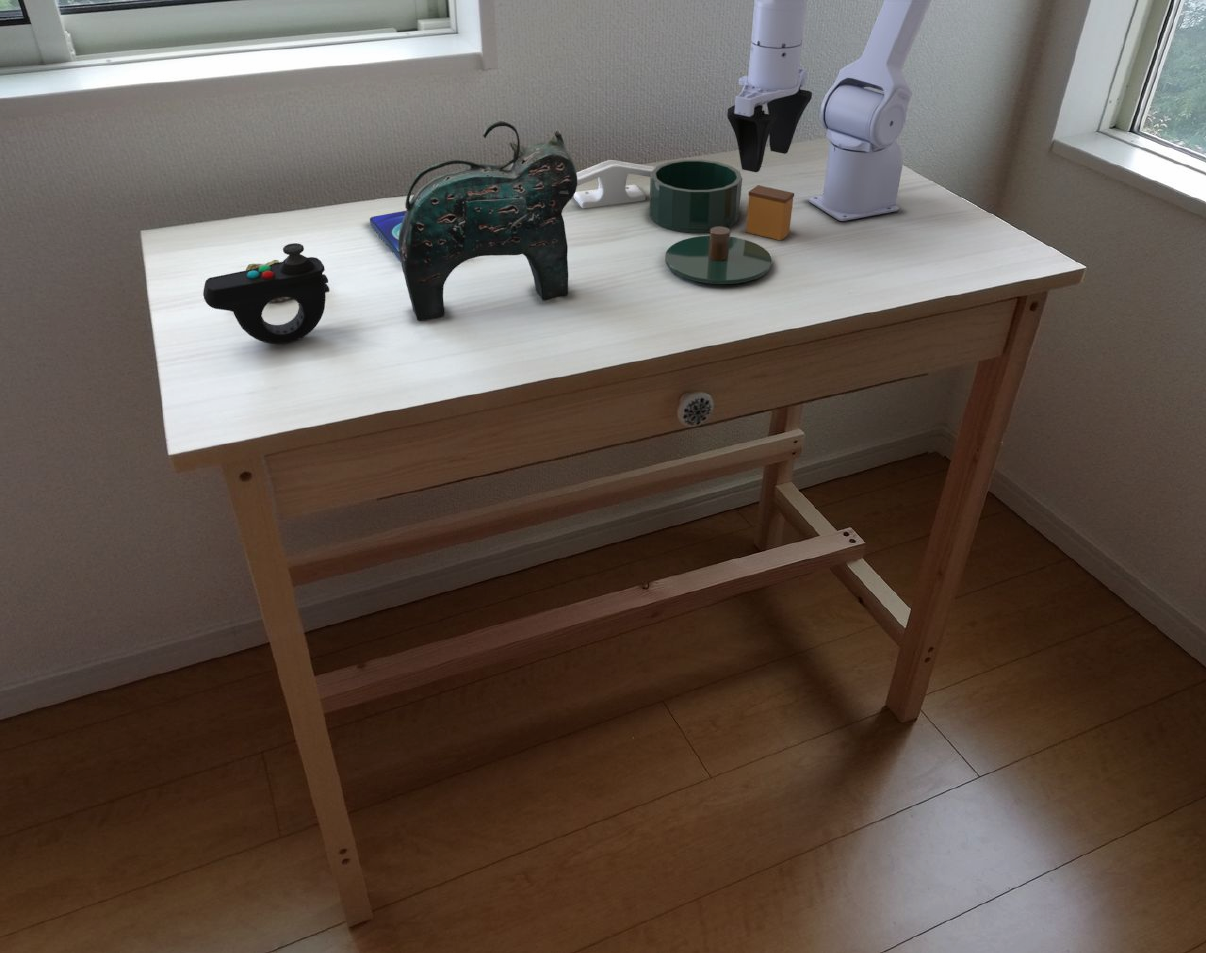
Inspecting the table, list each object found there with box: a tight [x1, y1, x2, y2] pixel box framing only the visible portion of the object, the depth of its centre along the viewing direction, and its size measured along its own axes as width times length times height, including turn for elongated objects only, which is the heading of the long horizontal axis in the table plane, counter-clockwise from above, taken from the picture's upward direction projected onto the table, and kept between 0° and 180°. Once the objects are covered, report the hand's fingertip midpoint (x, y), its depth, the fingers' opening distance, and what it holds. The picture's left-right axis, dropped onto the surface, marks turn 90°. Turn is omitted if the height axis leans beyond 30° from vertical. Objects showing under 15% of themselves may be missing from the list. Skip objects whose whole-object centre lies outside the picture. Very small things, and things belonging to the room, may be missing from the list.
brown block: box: [745, 184, 795, 241], centre depth 127 cm, size 5×3×6 cm, turn 57°
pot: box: [649, 159, 743, 234], centre depth 132 cm, size 12×12×6 cm
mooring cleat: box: [573, 159, 657, 209], centre depth 137 cm, size 4×20×5 cm, turn 109°
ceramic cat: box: [398, 120, 578, 321], centre depth 107 cm, size 20×6×20 cm, turn 110°
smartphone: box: [369, 210, 406, 262], centre depth 127 cm, size 8×1×15 cm
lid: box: [664, 227, 773, 285], centre depth 120 cm, size 13×13×4 cm
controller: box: [202, 242, 330, 345], centre depth 103 cm, size 4×12×10 cm, turn 117°
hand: (765, 160), depth 121 cm, fingers open, 7 cm apart
